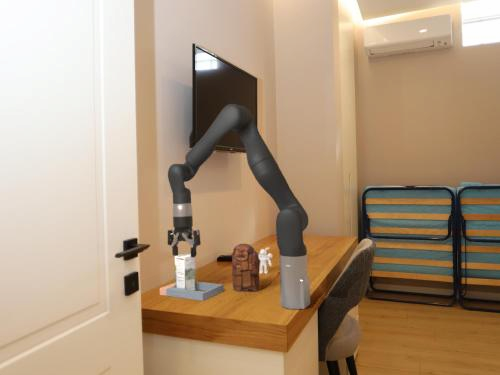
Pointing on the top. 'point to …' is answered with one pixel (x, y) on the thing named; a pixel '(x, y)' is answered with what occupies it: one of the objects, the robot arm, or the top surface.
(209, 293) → the keyhole board
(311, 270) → the top surface
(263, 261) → the flower shoulder figurine
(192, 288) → the syrup box
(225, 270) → the top surface
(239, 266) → the wooden figurine
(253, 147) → the robot arm
